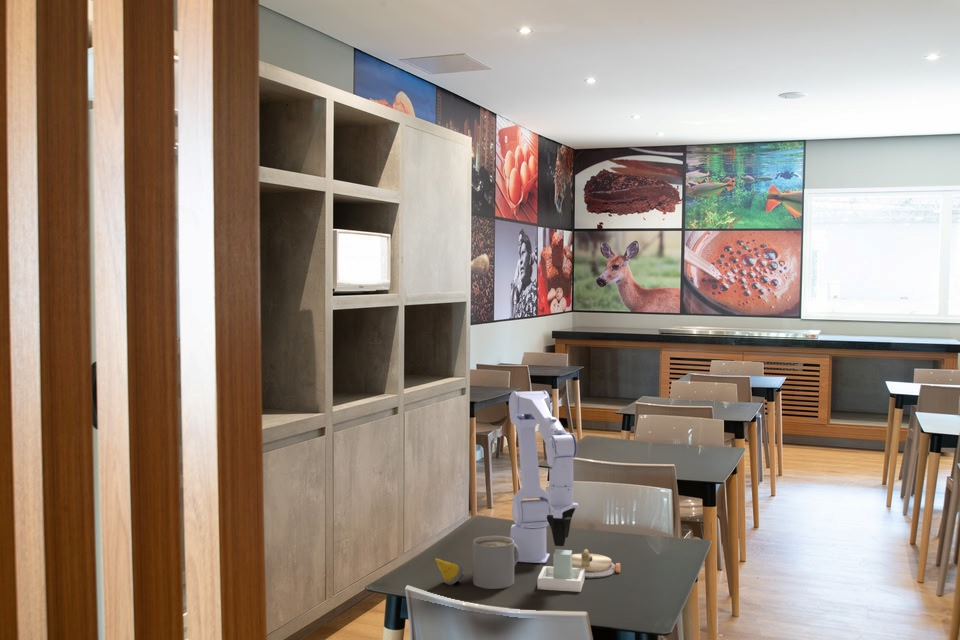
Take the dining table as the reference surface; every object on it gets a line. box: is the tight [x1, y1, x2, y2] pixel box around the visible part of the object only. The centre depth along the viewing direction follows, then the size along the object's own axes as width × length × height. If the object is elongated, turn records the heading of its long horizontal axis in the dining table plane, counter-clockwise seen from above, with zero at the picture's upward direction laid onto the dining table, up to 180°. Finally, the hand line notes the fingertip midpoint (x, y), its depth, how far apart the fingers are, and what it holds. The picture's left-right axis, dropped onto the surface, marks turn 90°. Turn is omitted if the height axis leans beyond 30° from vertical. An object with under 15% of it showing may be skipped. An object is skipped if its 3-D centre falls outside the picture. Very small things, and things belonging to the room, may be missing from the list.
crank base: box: [585, 562, 621, 579], centre depth 220 cm, size 15×14×2 cm
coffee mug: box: [472, 535, 519, 590], centre depth 211 cm, size 13×10×10 cm
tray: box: [537, 565, 586, 593], centre depth 209 cm, size 10×10×2 cm
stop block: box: [552, 549, 573, 579], centre depth 209 cm, size 4×4×7 cm
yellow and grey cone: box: [434, 557, 465, 586], centre depth 209 cm, size 5×5×10 cm
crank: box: [572, 548, 613, 572], centre depth 220 cm, size 13×12×5 cm
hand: (561, 541), depth 209 cm, fingers open, 7 cm apart
